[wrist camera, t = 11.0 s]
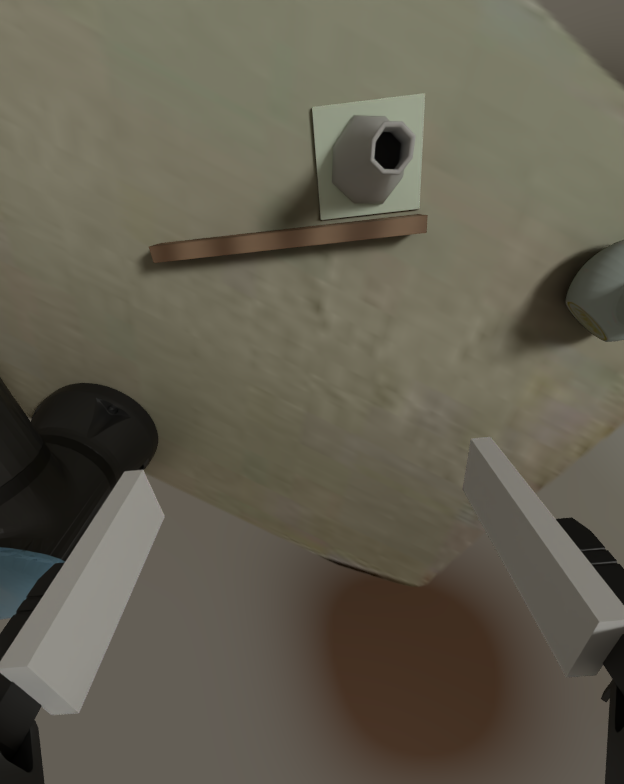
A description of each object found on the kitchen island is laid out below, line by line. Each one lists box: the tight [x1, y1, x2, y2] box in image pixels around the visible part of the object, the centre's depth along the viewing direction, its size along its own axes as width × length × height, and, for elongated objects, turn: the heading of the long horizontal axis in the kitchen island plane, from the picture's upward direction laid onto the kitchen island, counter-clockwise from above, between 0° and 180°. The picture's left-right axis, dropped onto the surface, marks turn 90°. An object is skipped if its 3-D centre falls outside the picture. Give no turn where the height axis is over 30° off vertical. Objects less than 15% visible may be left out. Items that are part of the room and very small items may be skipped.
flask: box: [332, 115, 416, 204], centre depth 28 cm, size 7×7×10 cm
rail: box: [149, 214, 427, 263], centre depth 34 cm, size 27×2×3 cm, turn 96°
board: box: [312, 93, 425, 220], centre depth 32 cm, size 10×9×1 cm
